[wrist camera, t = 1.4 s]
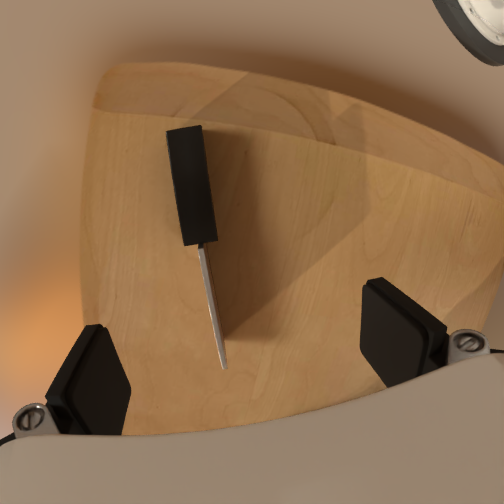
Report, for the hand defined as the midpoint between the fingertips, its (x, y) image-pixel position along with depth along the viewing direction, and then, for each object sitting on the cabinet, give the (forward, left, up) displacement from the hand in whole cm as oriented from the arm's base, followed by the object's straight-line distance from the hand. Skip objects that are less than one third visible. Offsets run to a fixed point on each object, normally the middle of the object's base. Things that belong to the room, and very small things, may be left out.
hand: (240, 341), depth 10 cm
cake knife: (0, -1, -15) cm, 15 cm away
